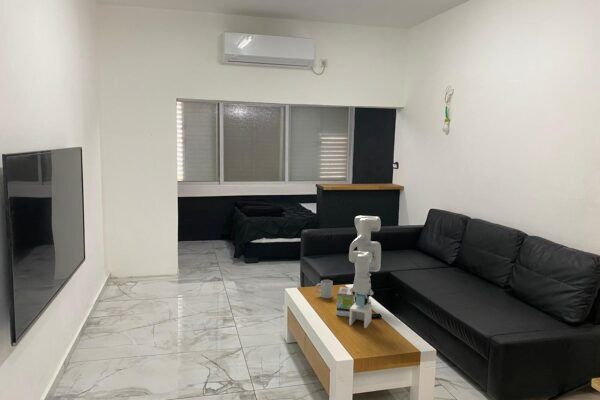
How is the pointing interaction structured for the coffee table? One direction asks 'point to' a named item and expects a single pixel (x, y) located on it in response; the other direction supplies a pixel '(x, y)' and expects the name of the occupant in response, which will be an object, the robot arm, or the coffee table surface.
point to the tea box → (344, 301)
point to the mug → (325, 288)
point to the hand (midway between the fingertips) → (361, 303)
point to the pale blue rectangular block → (360, 299)
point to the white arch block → (360, 314)
